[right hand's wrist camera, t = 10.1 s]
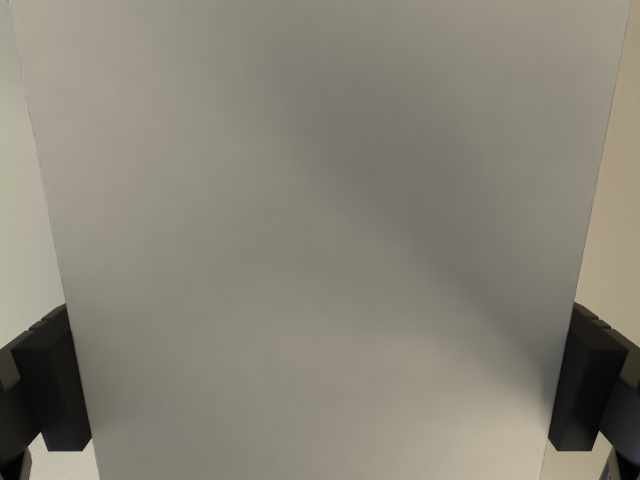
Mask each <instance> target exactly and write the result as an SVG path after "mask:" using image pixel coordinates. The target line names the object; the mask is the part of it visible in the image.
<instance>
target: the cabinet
mask: <svg viewBox="0 0 640 480" xmlns="http://www.w3.org/2000/svg"><path fill="white" fill-rule="evenodd" d="M631 1H632V0H8V3H9V9H10V14H11V19H12V24H13V30H14V35H15V40H16V45H17V50H18V56H19V61H20V66H21V71H22V77H23V82H24V87H25V92H26V97H27V103H28V108H29V113H30V118H31V123H32V129H33V134H34V139H35V144H36V150H37V155H38V160H39V165H40V170H41V176H42V181H43V186H44V191H45V197H46V202H47V207H48V212H49V217H50V223H51V228H52V233H53V238H54V244H55V249H56V254H57V259H58V264H59V270H60V275H61V280H62V285H63V291H64V296H65V301H66V306H67V311H68V317H69V322H70V327H71V332H72V337H73V343H74V348H75V353H76V358H77V364H78V369H79V374H80V379H81V384H82V390H83V395H84V400H85V405H86V411H87V416H88V421H89V426H90V431H91V437H92V442H93V447H94V452H95V458H96V463H97V468H98V473H99V478H100V480H540V476H541V470H542V465H543V460H544V455H545V450H546V444H547V439H548V434H549V429H550V424H551V418H552V413H553V408H554V403H555V397H556V392H557V387H558V382H559V377H560V371H561V366H562V361H563V356H564V351H565V345H566V340H567V335H568V330H569V325H570V319H571V314H572V309H573V304H574V298H575V293H576V288H577V283H578V278H579V272H580V267H581V262H582V257H583V252H584V246H585V241H586V236H587V231H588V226H589V220H590V215H591V210H592V205H593V199H594V194H595V189H596V184H597V179H598V173H599V168H600V163H601V158H602V153H603V147H604V142H605V137H606V132H607V127H608V121H609V116H610V111H611V106H612V100H613V95H614V90H615V85H616V80H617V74H618V69H619V64H620V59H621V54H622V48H623V43H624V38H625V33H626V28H627V22H628V17H629V12H630V7H631Z"/></svg>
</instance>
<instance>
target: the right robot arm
mask: <svg viewBox="0 0 640 480" xmlns="http://www.w3.org/2000/svg"><path fill="white" fill-rule="evenodd" d="M599 430H600V432H601V433H602V434H603V435H604V436H605V437H606V438H607V440H608V441H609V442H610V443H611V444H612V445H613V446H612V449H611V451H610V454H609V456H608V459H607V461H606V464H605V466H604V469H603V471H602V474H601V476H600V479H599V480H640V348H639V347H638V346H637V345H635V344H634V343H632V342H631V341H630V340H628V339H627V338H626V337H624V336H623V335H622V334H620V333H619V332H618V331H616V330H615V329H611V326H610V325H608V324H607V323H606V322H604V321H603V320H599V317H597V316H596V315H595V314H593V313H592V312H591V311H589V310H588V309H587V308H585V307H584V306H582V305H580V304H578V303H576V302H574V304H573V309H572V314H571V319H570V325H569V330H568V335H567V340H566V345H565V351H564V356H563V361H562V366H561V371H560V377H559V382H558V387H557V392H556V397H555V403H554V408H553V413H552V418H551V424H550V429H549V434H548V439H549V440H550V442H551V443H552V444H553V446H554V447H555V449H556V450H557V451H592V448H593V445H594V443H595V440H596V437H597V435H598V432H599ZM40 432H41V433H42V436H43V439H44V441H45V444H46V447H47V449H48V451H83V450H84V448H85V447H86V445H87V444H88V442H89V441H90V440H91V438H92V437H91V431H90V426H89V421H88V416H87V411H86V405H85V400H84V395H83V390H82V384H81V379H80V374H79V369H78V364H77V358H76V353H75V348H74V343H73V337H72V332H71V327H70V322H69V317H68V311H67V306H66V303H65V304H63V305H61V306H59V307H57V308H55V309H54V310H52V311H51V312H50V313H48V314H47V315H46V316H44V317H43V318H42V319H41V321H38V322H36V323H35V324H34V325H32V326H31V327H30V328H29V330H28V331H24V332H23V333H22V334H20V335H19V336H18V337H16V338H15V339H14V340H12V341H11V342H10V343H8V344H7V345H6V346H4V347H3V348H2V349H0V480H29V477H30V471H31V465H32V459H31V454H30V451H29V449H28V446H29V445H30V443H31V442H32V441H33V440H34V439H35V438H36V437H37V435H38V434H39V433H40Z"/></svg>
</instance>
